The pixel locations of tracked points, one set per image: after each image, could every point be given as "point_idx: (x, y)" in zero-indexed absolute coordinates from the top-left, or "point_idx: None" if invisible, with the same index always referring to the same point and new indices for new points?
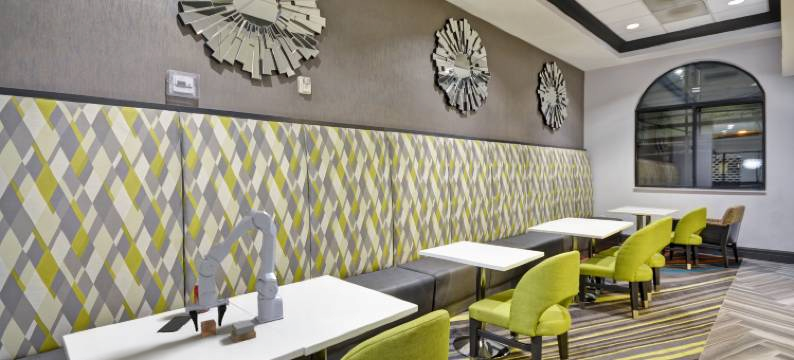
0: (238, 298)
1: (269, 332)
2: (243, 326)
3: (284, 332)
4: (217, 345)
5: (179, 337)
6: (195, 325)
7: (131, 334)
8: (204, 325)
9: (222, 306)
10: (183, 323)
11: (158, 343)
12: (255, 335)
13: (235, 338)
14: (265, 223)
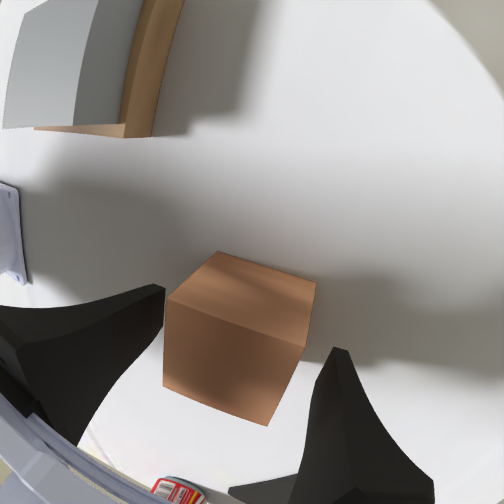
0: (85, 447)
1: None
2: (61, 4)
3: (19, 23)
4: (300, 33)
5: (397, 401)
6: (362, 389)
7: (435, 498)
8: (285, 339)
9: (8, 381)
10: (286, 483)
11: (485, 401)
12: None
13: None
14: None
